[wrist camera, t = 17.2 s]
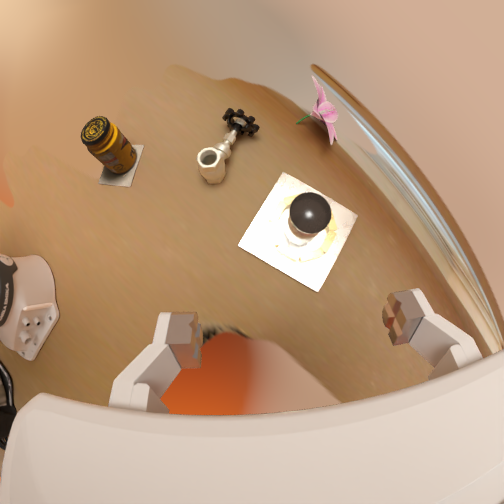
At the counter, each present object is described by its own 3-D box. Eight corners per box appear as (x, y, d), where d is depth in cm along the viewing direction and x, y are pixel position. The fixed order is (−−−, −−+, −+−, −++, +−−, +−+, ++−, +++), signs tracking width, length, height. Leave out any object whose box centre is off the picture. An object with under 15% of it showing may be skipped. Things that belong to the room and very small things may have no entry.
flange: (316, 292, 42) (321, 292, 39) (238, 246, 43) (237, 242, 40) (355, 217, 44) (363, 211, 40) (282, 174, 45) (284, 165, 41)
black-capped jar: (307, 252, 42) (320, 240, 33) (277, 236, 42) (282, 220, 33) (322, 223, 42) (338, 204, 33) (293, 207, 43) (301, 185, 34)
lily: (316, 167, 46) (356, 143, 38) (265, 122, 43) (299, 89, 34) (332, 132, 51) (366, 109, 43) (289, 93, 48) (320, 64, 39)
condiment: (144, 145, 46) (118, 110, 34) (130, 187, 45) (98, 158, 33) (113, 144, 46) (84, 112, 35) (99, 184, 45) (64, 158, 33)
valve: (225, 193, 45) (259, 137, 46) (220, 177, 38) (259, 116, 40) (191, 177, 45) (226, 124, 47) (182, 160, 39) (223, 102, 40)
